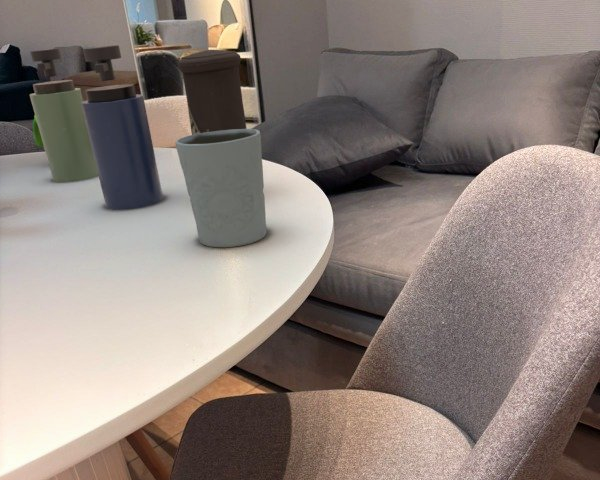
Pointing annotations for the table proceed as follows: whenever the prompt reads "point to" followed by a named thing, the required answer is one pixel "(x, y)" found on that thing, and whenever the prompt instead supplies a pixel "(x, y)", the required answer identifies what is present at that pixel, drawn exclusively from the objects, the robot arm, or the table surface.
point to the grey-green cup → (225, 185)
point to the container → (213, 91)
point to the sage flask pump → (46, 60)
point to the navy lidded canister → (122, 146)
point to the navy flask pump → (103, 60)
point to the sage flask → (64, 130)
